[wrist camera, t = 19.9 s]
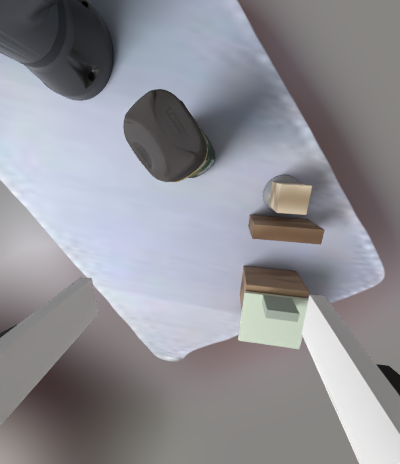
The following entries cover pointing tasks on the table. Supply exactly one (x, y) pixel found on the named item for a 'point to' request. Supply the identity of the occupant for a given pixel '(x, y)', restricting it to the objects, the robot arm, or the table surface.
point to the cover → (272, 319)
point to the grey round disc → (268, 187)
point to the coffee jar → (167, 137)
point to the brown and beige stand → (274, 278)
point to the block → (290, 197)
